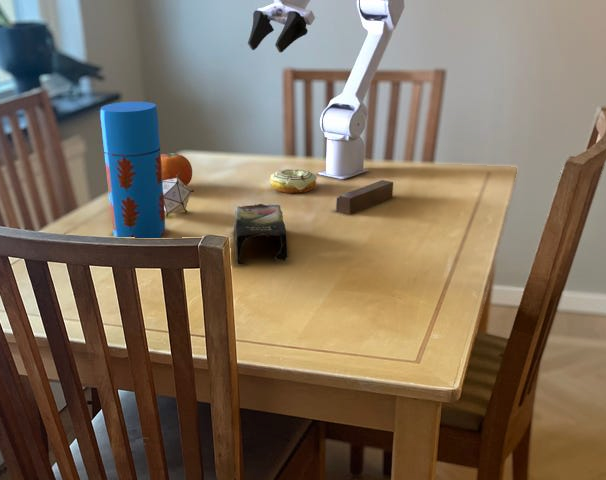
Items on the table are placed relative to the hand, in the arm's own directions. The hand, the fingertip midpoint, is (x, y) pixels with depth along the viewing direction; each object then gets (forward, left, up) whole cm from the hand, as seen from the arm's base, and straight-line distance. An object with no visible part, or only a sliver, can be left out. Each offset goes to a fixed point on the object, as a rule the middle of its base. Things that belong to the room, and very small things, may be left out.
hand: (264, 47), depth 165 cm
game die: (+20, -9, -32) cm, 39 cm away
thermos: (+34, -4, -32) cm, 47 cm away
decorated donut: (-11, -1, -32) cm, 34 cm away
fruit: (+7, -24, -32) cm, 41 cm away
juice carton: (+24, +20, -32) cm, 45 cm away
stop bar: (-11, +20, -32) cm, 39 cm away
